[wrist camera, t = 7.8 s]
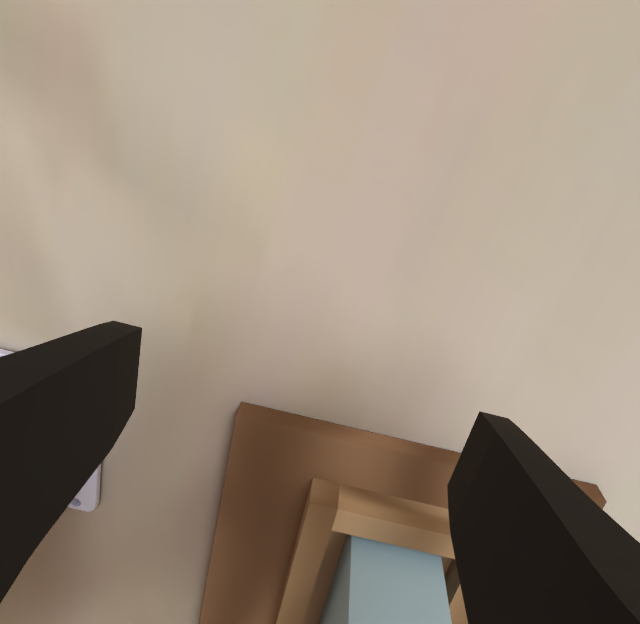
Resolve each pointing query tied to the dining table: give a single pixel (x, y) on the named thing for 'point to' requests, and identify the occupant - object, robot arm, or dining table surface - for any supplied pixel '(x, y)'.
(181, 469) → the dining table surface
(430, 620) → the tall light blue prism
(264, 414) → the cradle
